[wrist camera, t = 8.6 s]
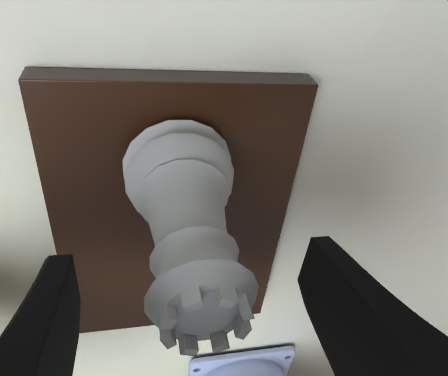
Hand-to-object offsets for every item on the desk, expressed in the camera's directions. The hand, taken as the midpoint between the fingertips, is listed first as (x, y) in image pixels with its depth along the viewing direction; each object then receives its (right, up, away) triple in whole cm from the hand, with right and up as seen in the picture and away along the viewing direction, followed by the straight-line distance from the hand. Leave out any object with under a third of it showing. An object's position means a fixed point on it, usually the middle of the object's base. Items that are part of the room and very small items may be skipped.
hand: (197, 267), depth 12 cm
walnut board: (-2, +1, +8) cm, 8 cm away
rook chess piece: (-1, +4, +5) cm, 6 cm away
